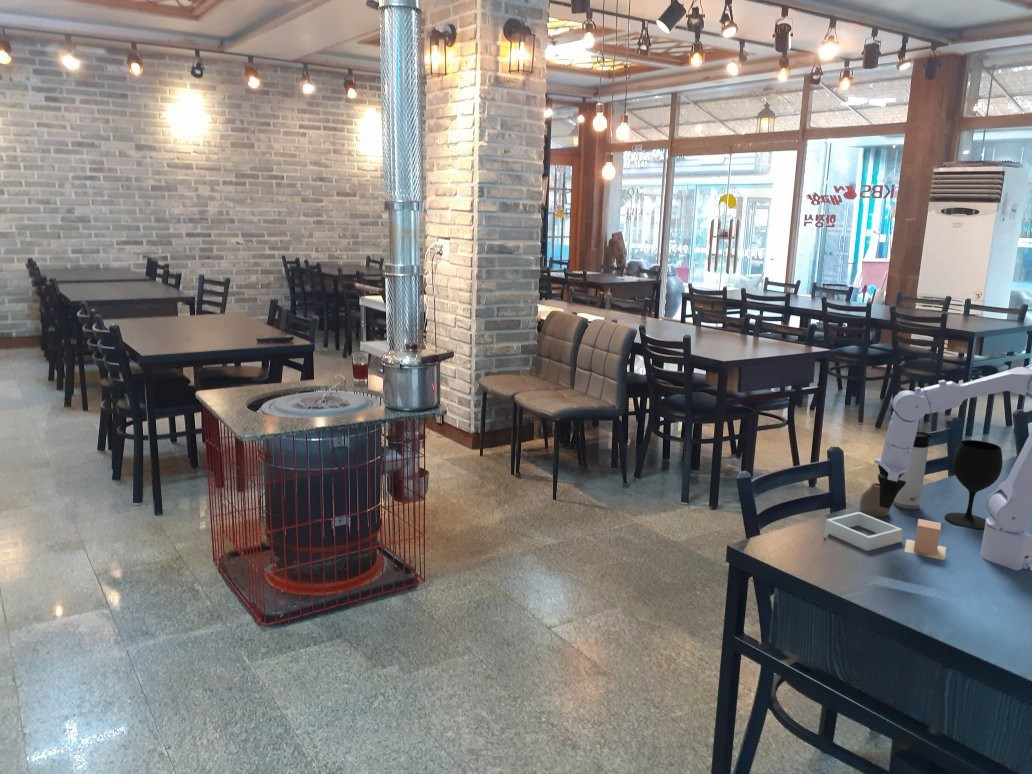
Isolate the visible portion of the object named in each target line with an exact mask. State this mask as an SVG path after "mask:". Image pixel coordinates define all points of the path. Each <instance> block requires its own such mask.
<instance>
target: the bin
mask: <svg viewBox="0 0 1032 774" xmlns="http://www.w3.org/2000/svg"><path fill="white" fill-rule="evenodd" d="M857 526H858V527H861V528H864V529H866V530H868V531H871V532H873V533H874V534H871V535H867V534H864V533H862V532H860V531H857V530H855V529H852V527H857ZM823 533H824V534H823V538H824V539H828V537H829V535H830V536H833V537H836V538H837V539H840V540H842V541H844V542H846V543H849V544H850V545H852V546H855V547H858V548H859V549H862V550H865V551H867V552H869V551H873V550H877V549H880V548H883V547H887V546H891V545H895V544H898V543H901V542H902V538H903V529H902V528H901V527H898V526H895V525H894V524H890V523H889V522H885V521H883V520H881V519H878V518H877V517H876V518H875V517H874V516H869V515H866V514H864V513H862V512H861V511H856V512H853V513H848V514H844V515H841V516H840V515H839V516H836V517H831V518H827V519H825V526H824V532H823Z"/></svg>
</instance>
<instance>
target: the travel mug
mask: <svg viewBox="0 0 1032 774" xmlns="http://www.w3.org/2000/svg"><path fill="white" fill-rule="evenodd" d="M932 436H933V434H932V433H930V432H924V431H917V433H916V437H915V441H914V445H913V449H912V453H911V457H910V461H909V465H908V466H909V469H908V471H906V472H905V473H904V474H903V475H902V476H901V477H900V478H899V480H902V481H906V484H905V486H904V487H903V488H902V489H901V490H900V491H899V492H898V494H897V495H896V497H895V499H894V501H893V505H894V506H896V507H898V508H900V509H905V510H917V509H919V508H920V506H921V505H920V504H921V498H922V494H923V485H924V478H925V473H926V472H925V471H926V466H927V465H926V464H927V461H928V460H927V458H928V452H929V445H930V444H929V443H930V438H932Z"/></svg>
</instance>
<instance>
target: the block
mask: <svg viewBox="0 0 1032 774" xmlns="http://www.w3.org/2000/svg"><path fill="white" fill-rule="evenodd" d="M941 527H942V523H941V522H938V521H937V522H936V521H932V520H927V519H921V518H918V520H917V526H916V531H915V540H914V541H915V545H914V551H918V552H923V553H927V554H932V555H936V554H937V548H938V546H939V540H940V535H941Z"/></svg>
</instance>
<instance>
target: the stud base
mask: <svg viewBox="0 0 1032 774" xmlns="http://www.w3.org/2000/svg"><path fill="white" fill-rule="evenodd" d="M914 545H915V540H913V539H906V540H905V547H904V553H908V554H913V555H917V556H922V557H926V558H927V557H928V558H933V559H938V560H942V561H946V552H947V547H946V546H942V545H938V548H937V554H936V555H932V554H927V553H923V552H918V551H914Z"/></svg>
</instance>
